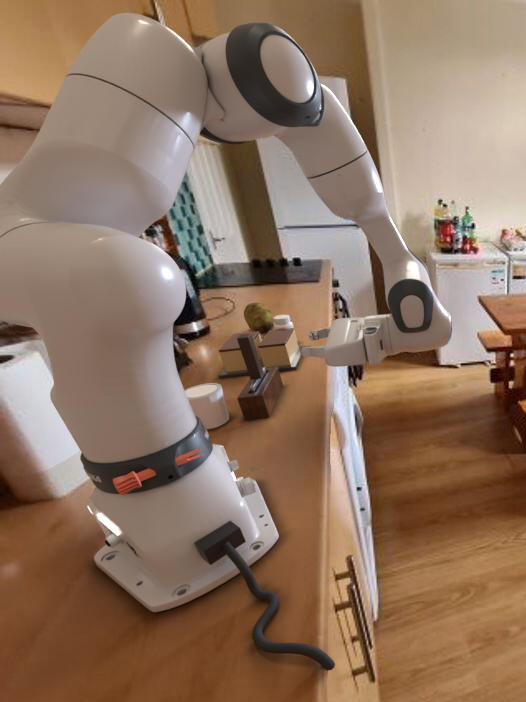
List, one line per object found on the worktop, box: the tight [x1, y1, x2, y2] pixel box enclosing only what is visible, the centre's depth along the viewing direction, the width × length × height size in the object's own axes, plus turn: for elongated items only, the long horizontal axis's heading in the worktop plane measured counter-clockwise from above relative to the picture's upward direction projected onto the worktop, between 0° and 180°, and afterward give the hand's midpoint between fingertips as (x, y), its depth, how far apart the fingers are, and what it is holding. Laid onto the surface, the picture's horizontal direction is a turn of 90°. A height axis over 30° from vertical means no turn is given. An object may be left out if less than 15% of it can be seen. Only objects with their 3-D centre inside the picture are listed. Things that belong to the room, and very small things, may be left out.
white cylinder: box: [184, 382, 230, 430], centre depth 80 cm, size 7×7×7 cm
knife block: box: [236, 367, 284, 421], centre depth 87 cm, size 14×4×5 cm, turn 16°
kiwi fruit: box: [243, 301, 275, 335], centre depth 129 cm, size 8×13×8 cm, turn 23°
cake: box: [217, 327, 304, 379], centre depth 106 cm, size 15×17×7 cm
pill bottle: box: [272, 314, 298, 340], centre depth 117 cm, size 5×5×8 cm
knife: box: [237, 334, 267, 393], centre depth 85 cm, size 10×2×15 cm, turn 16°
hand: (306, 343), depth 85 cm, fingers open, 8 cm apart
